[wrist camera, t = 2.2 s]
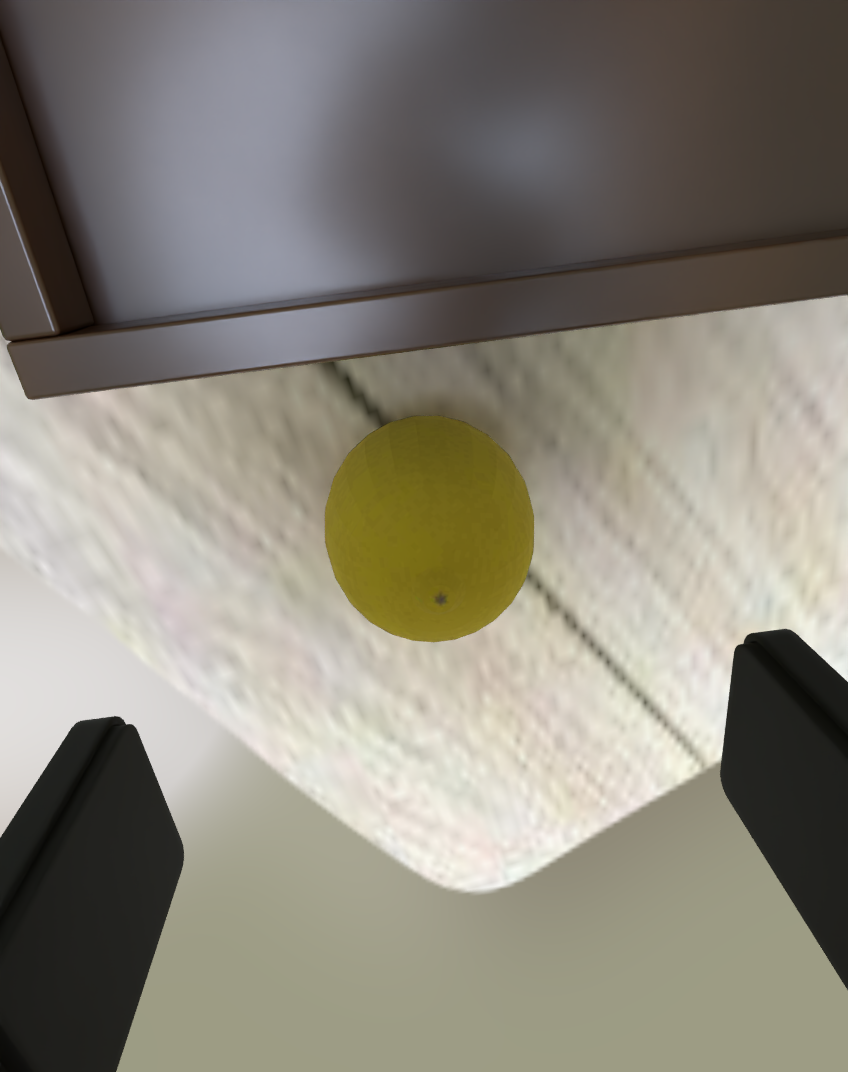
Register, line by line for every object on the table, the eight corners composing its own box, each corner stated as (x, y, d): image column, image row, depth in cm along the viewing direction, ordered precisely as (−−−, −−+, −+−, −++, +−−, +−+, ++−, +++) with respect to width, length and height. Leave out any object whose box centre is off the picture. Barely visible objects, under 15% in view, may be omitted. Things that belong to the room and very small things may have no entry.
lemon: (510, 536, 22) (571, 685, 14) (351, 557, 22) (334, 717, 14) (499, 376, 19) (567, 460, 12) (321, 400, 19) (281, 498, 12)
